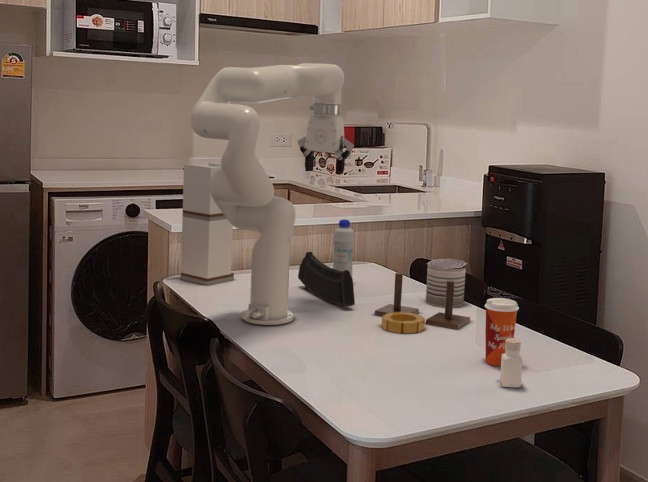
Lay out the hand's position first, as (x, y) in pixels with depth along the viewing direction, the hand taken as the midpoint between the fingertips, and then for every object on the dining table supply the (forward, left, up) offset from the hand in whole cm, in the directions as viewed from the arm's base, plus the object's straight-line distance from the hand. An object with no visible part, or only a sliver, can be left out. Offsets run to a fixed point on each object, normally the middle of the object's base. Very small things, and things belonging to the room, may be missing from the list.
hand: (324, 172), depth 229 cm
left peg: (0, -24, -36) cm, 44 cm away
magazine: (+4, +1, -37) cm, 37 cm away
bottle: (+23, +6, -37) cm, 44 cm away
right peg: (0, -39, -36) cm, 54 cm away
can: (+20, -30, -37) cm, 52 cm away
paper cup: (-24, -61, -37) cm, 75 cm away
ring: (-11, -31, -36) cm, 49 cm away
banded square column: (+2, +41, -37) cm, 55 cm away
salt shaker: (-37, -68, -37) cm, 86 cm away
